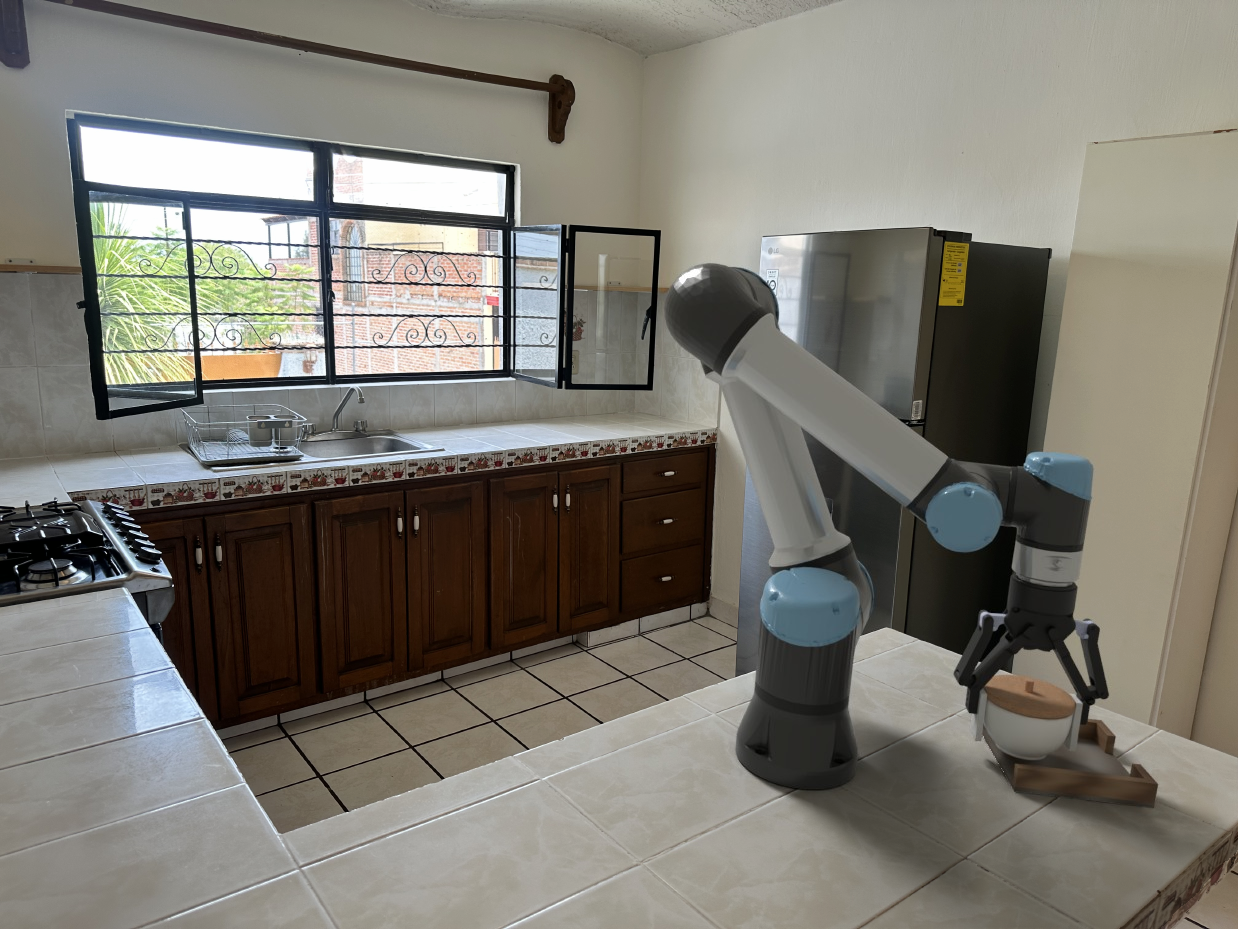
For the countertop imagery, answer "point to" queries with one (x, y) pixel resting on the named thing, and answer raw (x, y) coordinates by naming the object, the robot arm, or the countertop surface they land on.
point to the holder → (1080, 771)
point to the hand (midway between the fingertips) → (1021, 741)
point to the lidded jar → (1027, 715)
